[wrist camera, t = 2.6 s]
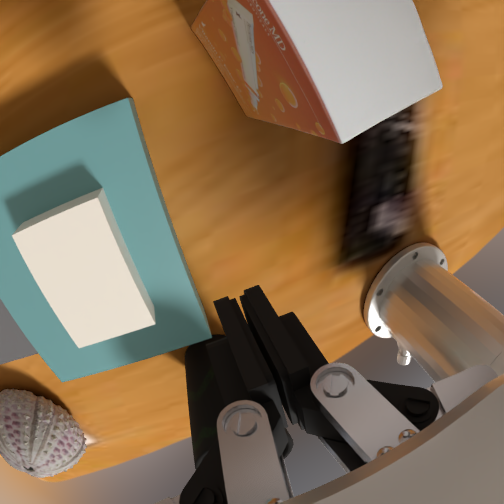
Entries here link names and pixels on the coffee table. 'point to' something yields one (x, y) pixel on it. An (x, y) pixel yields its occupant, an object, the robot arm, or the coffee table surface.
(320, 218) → the coffee table surface
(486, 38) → the coffee table surface
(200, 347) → the cup
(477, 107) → the coffee table surface
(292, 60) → the small box
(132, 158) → the plate
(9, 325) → the mat
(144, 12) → the coffee table surface
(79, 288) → the off-white foam block
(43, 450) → the sea urchin shell
